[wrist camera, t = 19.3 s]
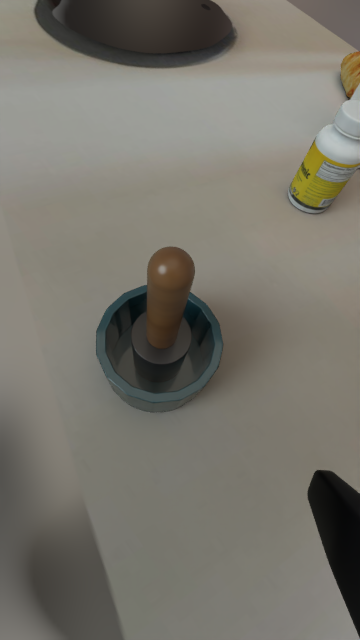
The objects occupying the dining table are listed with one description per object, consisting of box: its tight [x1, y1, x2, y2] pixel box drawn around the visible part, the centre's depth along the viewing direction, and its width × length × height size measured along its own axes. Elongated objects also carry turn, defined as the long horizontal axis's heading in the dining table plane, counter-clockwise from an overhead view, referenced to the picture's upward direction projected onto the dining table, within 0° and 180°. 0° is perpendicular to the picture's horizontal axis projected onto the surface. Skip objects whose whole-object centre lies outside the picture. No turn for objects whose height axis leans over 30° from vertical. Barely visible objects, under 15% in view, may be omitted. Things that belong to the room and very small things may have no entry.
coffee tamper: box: [131, 247, 195, 382], centre depth 16 cm, size 4×4×13 cm
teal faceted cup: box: [96, 285, 223, 412], centre depth 20 cm, size 8×8×5 cm
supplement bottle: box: [288, 100, 360, 213], centre depth 29 cm, size 5×5×10 cm
